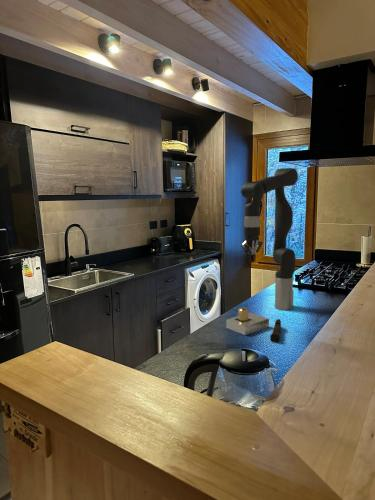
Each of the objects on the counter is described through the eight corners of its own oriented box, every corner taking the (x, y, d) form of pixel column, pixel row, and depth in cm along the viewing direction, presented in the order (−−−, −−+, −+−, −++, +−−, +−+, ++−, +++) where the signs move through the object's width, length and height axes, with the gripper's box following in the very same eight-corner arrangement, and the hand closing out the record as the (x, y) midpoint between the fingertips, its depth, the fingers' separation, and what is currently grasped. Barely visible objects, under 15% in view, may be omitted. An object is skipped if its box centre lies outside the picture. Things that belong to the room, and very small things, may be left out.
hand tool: (279, 343, 146) (280, 332, 145) (270, 342, 147) (270, 331, 146) (284, 328, 163) (285, 318, 162) (276, 327, 164) (276, 317, 164)
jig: (249, 320, 173) (249, 312, 173) (268, 326, 164) (268, 318, 163) (226, 327, 164) (226, 319, 163) (245, 335, 154) (245, 326, 154)
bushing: (243, 325, 167) (243, 306, 166) (250, 327, 163) (250, 309, 162) (236, 327, 164) (236, 308, 163) (243, 330, 160) (243, 311, 159)
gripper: (255, 224, 171) (255, 259, 174) (236, 226, 163) (236, 262, 166) (267, 225, 165) (267, 261, 168) (248, 227, 158) (248, 264, 160)
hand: (251, 261), depth 167 cm, fingers closed
